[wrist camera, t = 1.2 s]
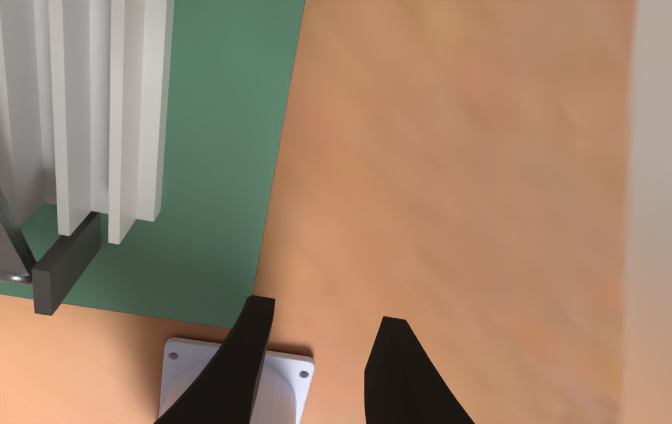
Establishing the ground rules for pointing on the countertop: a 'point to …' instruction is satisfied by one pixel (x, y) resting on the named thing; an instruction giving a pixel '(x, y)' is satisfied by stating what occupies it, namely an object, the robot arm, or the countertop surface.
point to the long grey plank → (13, 249)
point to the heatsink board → (143, 148)
